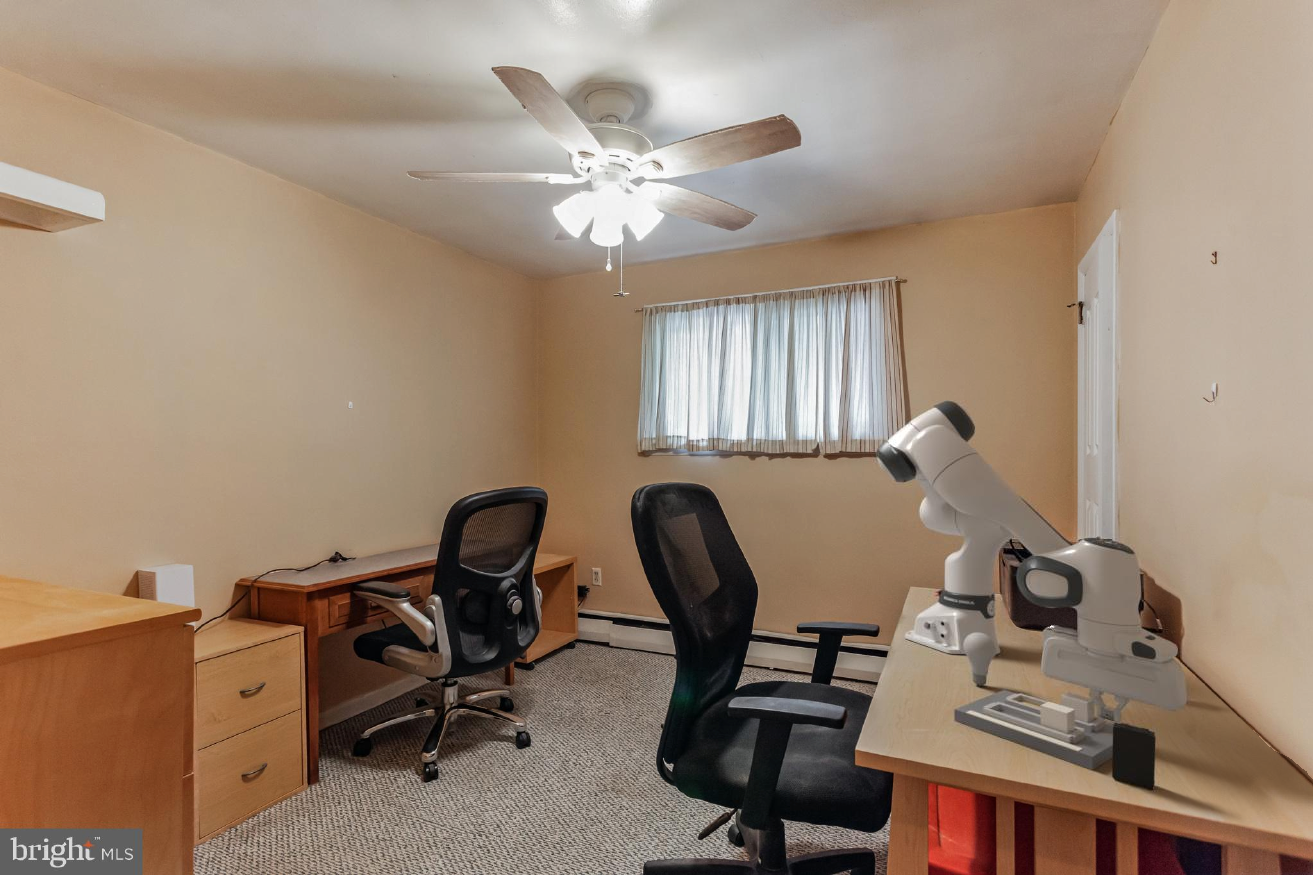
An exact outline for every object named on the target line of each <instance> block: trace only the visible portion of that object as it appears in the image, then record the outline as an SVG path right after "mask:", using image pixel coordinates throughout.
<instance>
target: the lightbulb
mask: <svg viewBox="0 0 1313 875" xmlns="http://www.w3.org/2000/svg"><path fill="white" fill-rule="evenodd" d="M963 647H964V651H965V653H966V654H965V655H966V656H967V659H968V661H969V663H970V664H969V665H970V670H971V673H972V674H971V675H972V682H973V683H974V684H976V686H978V687H982V686H984V685H986V684H987V675H988V673H989V667H990V664H991V662H992V660H994V657H996V654H995V653H996V646H995V643H994V642H993V640H992V639H991V638H990V637H989V636H987V635H986V634H983V633H972V634H970V635H968V636H967V637H966V639H965V641H964V644H963Z"/></svg>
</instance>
